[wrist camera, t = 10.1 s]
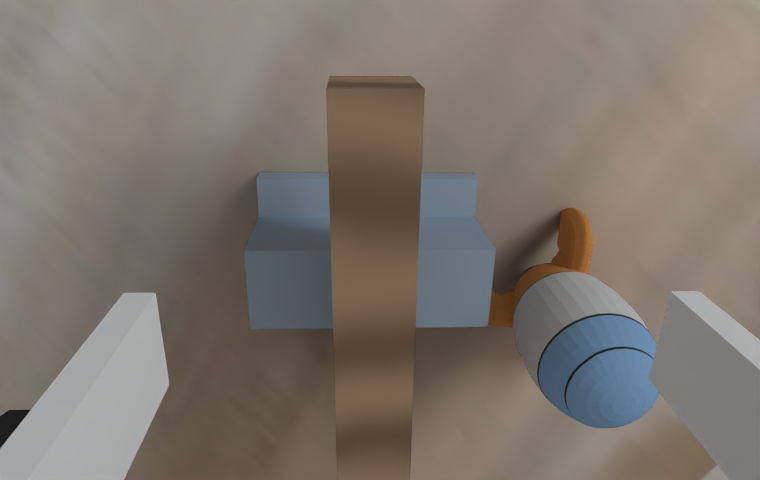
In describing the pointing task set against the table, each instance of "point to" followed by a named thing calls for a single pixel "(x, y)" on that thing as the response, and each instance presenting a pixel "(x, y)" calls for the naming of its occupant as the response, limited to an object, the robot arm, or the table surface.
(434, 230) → the slate ridge
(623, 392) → the toy rocket
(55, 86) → the table surface
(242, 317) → the table surface
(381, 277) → the walnut bar
